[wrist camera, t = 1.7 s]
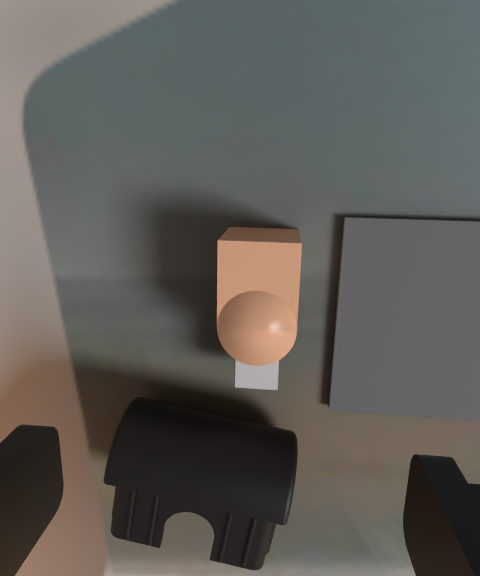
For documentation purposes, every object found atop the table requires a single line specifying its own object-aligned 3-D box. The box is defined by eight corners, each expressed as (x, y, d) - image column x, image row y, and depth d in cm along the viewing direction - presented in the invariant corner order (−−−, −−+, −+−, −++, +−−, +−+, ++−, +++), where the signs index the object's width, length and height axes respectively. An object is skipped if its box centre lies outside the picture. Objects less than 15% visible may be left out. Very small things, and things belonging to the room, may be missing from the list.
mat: (343, 216, 25) (345, 217, 25) (510, 221, 24) (514, 222, 24) (328, 405, 28) (329, 410, 28) (475, 415, 28) (478, 420, 27)
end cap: (296, 407, 29) (300, 477, 22) (274, 496, 31) (271, 585, 24) (147, 374, 29) (107, 433, 23) (134, 464, 31) (94, 542, 25)
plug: (229, 226, 26) (217, 240, 21) (298, 229, 26) (301, 243, 21) (227, 363, 28) (216, 403, 24) (291, 367, 28) (292, 408, 23)
